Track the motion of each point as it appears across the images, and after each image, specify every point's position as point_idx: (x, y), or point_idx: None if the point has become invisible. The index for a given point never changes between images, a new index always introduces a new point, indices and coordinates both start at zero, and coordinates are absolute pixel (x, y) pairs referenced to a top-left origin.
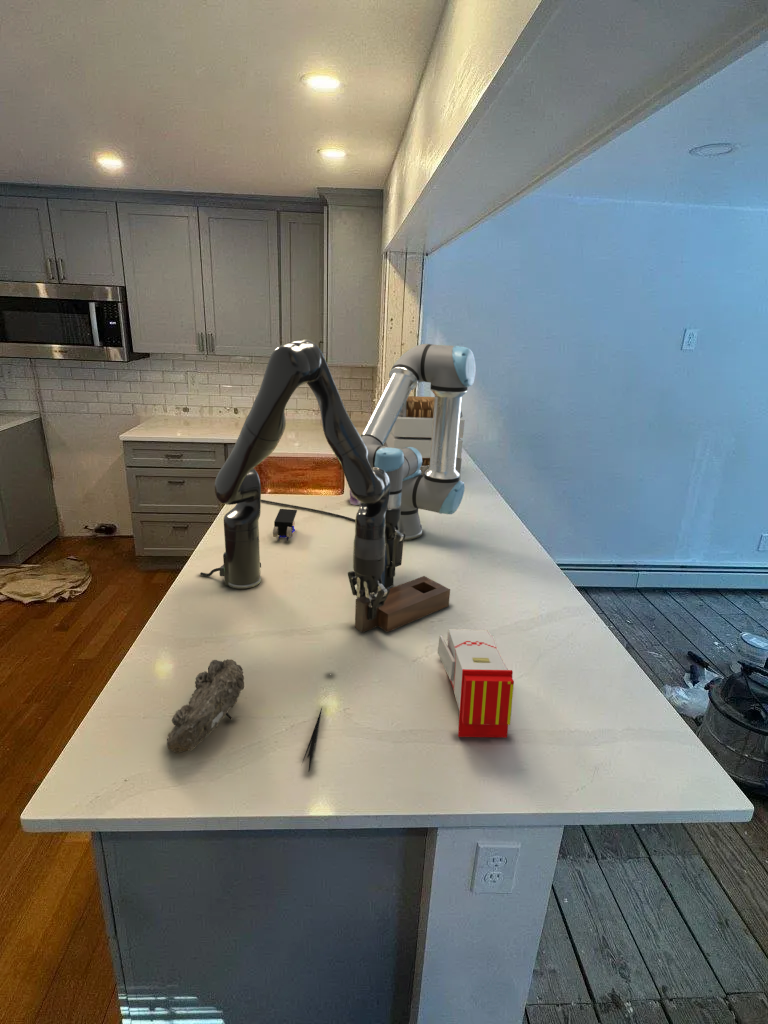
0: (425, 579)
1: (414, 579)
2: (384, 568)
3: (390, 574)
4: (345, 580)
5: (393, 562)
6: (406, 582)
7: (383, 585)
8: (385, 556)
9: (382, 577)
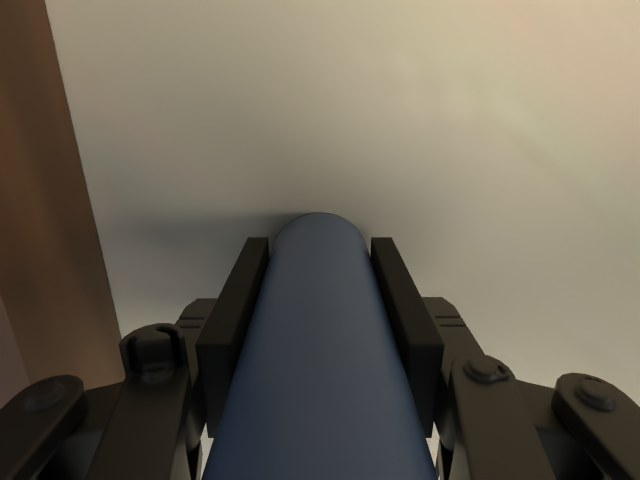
0: None
1: None
2: (256, 323)
3: (193, 316)
4: (584, 93)
5: (10, 436)
6: (9, 334)
7: (280, 241)
8: (210, 467)
9: (278, 261)
